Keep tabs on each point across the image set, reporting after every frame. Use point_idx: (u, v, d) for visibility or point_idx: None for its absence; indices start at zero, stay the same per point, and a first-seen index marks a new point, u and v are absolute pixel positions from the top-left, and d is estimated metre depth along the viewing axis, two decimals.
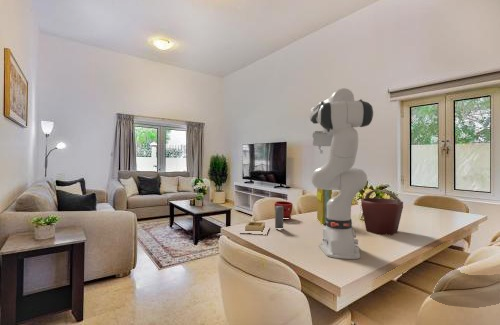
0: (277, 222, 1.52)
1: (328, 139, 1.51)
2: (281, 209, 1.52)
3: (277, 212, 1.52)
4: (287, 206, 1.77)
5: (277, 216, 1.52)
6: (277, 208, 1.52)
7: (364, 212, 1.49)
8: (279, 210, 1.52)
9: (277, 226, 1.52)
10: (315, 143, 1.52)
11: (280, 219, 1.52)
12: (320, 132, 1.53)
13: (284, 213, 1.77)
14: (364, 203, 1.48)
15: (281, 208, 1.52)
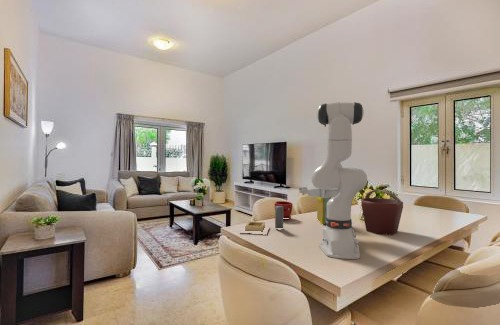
0: (277, 222, 1.52)
1: (313, 187, 1.52)
2: (281, 209, 1.52)
3: (277, 212, 1.52)
4: (287, 206, 1.77)
5: (277, 216, 1.52)
6: (277, 208, 1.52)
7: (364, 212, 1.49)
8: (279, 210, 1.52)
9: (277, 226, 1.52)
10: (307, 185, 1.60)
11: (280, 219, 1.52)
12: None
13: (284, 213, 1.77)
14: (364, 203, 1.48)
15: (281, 208, 1.52)
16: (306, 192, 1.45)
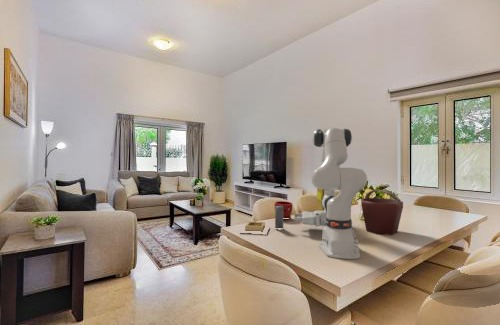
0: (277, 222, 1.52)
1: (308, 214, 1.52)
2: (281, 209, 1.52)
3: (277, 212, 1.52)
4: (287, 206, 1.77)
5: (277, 216, 1.52)
6: (277, 208, 1.52)
7: (364, 213, 1.49)
8: (279, 210, 1.52)
9: (277, 226, 1.52)
10: (303, 211, 1.60)
11: (280, 219, 1.52)
12: None
13: (284, 213, 1.77)
14: (364, 203, 1.48)
15: (281, 208, 1.52)
16: (301, 220, 1.46)
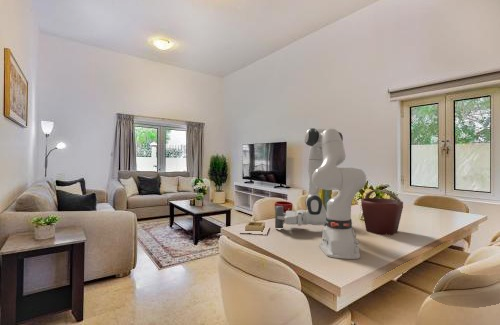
0: (277, 222, 1.52)
1: (291, 213, 1.54)
2: (281, 209, 1.52)
3: (277, 212, 1.52)
4: (287, 206, 1.77)
5: None
6: (277, 208, 1.52)
7: (364, 212, 1.49)
8: (279, 210, 1.52)
9: (277, 226, 1.52)
10: None
11: (280, 219, 1.52)
12: None
13: None
14: (364, 203, 1.48)
15: (281, 208, 1.52)
16: (283, 218, 1.49)
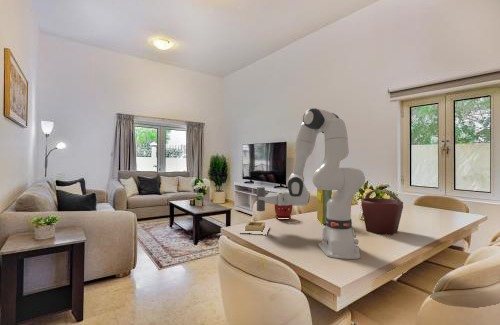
0: (258, 203, 1.50)
1: (273, 194, 1.52)
2: (262, 190, 1.50)
3: (258, 193, 1.50)
4: (287, 206, 1.77)
5: None
6: (258, 189, 1.50)
7: (364, 212, 1.49)
8: (260, 191, 1.50)
9: (258, 207, 1.50)
10: None
11: (261, 200, 1.50)
12: None
13: (284, 213, 1.77)
14: (364, 203, 1.48)
15: (262, 189, 1.50)
16: (264, 199, 1.47)
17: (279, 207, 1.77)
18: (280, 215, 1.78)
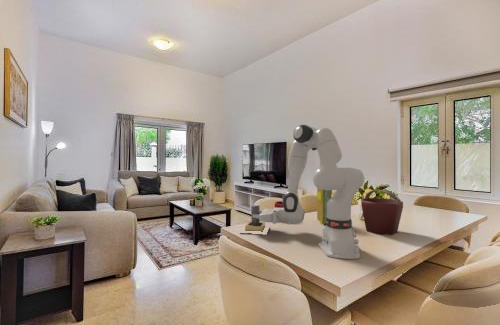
0: (253, 222, 1.49)
1: (268, 211, 1.51)
2: (257, 208, 1.49)
3: (253, 211, 1.49)
4: None
5: None
6: (253, 207, 1.49)
7: (364, 212, 1.49)
8: (255, 209, 1.49)
9: None
10: None
11: (256, 218, 1.49)
12: None
13: None
14: (364, 203, 1.48)
15: (257, 207, 1.49)
16: (258, 217, 1.44)
17: (279, 207, 1.77)
18: None
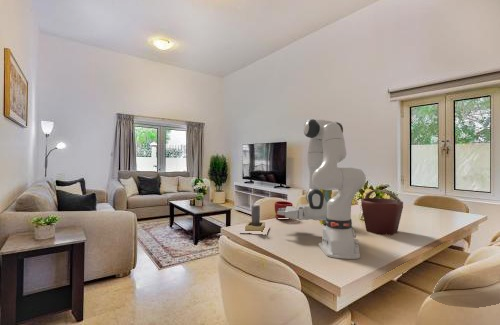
0: (253, 221, 1.49)
1: (292, 208, 1.49)
2: (257, 208, 1.49)
3: (253, 211, 1.49)
4: None
5: (253, 215, 1.49)
6: (253, 207, 1.49)
7: (364, 212, 1.49)
8: (255, 209, 1.49)
9: None
10: (288, 206, 1.56)
11: (256, 218, 1.49)
12: None
13: None
14: (364, 203, 1.48)
15: (257, 207, 1.49)
16: (284, 214, 1.42)
17: (279, 207, 1.77)
18: (280, 215, 1.78)
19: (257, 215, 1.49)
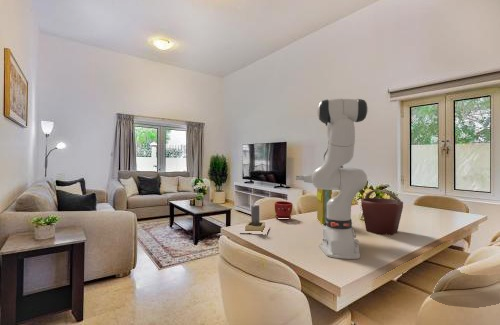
0: (253, 221, 1.49)
1: None
2: (257, 208, 1.49)
3: (253, 211, 1.49)
4: (287, 206, 1.77)
5: (253, 215, 1.49)
6: (253, 207, 1.49)
7: (364, 213, 1.49)
8: (255, 209, 1.49)
9: None
10: None
11: (256, 218, 1.49)
12: None
13: (284, 213, 1.77)
14: (364, 203, 1.48)
15: (257, 207, 1.49)
16: (302, 179, 1.46)
17: (279, 207, 1.77)
18: (280, 215, 1.78)
19: (257, 215, 1.49)
